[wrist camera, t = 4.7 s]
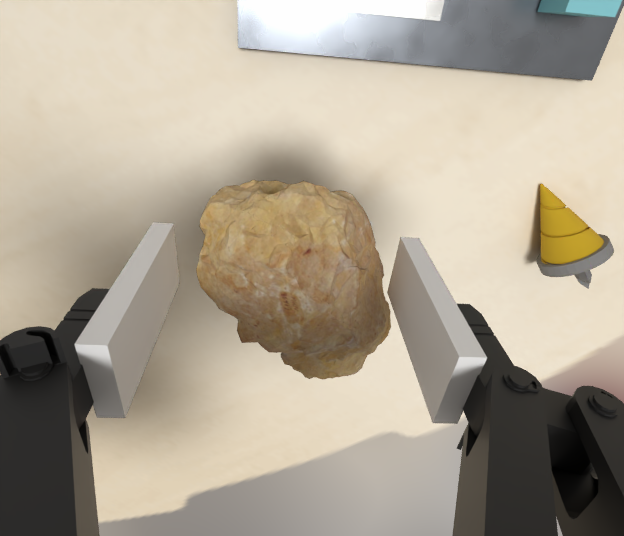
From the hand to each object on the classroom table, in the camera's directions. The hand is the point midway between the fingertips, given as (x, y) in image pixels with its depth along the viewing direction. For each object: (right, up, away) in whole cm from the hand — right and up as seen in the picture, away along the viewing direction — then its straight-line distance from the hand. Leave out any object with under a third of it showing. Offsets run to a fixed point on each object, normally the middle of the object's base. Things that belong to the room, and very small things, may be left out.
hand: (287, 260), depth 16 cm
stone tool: (-4, +2, +1) cm, 4 cm away
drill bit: (+25, -2, +18) cm, 30 cm away
